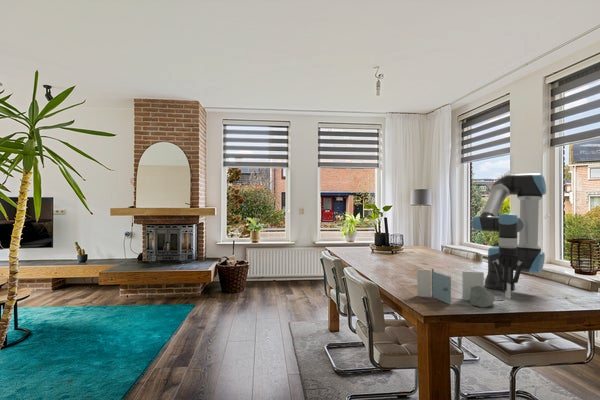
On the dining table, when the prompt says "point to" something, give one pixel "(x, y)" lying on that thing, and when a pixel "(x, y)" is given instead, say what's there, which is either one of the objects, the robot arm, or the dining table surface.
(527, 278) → the dining table surface
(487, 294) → the decorative stone
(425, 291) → the wall
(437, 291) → the door
